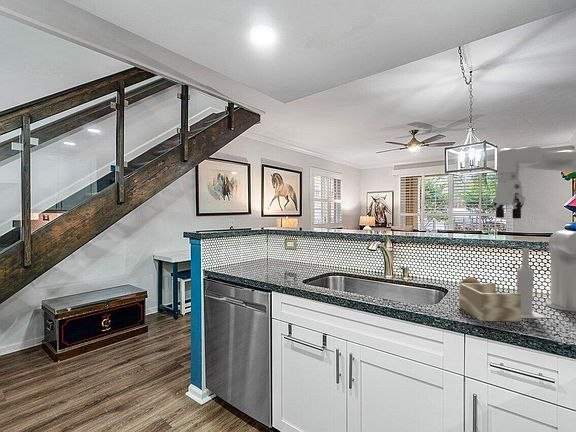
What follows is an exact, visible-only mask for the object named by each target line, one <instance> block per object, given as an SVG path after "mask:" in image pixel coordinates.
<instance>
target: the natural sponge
mask: <svg viewBox="0 0 576 432" xmlns="http://www.w3.org/2000/svg"><path fill="white" fill-rule="evenodd" d="M460 283H481V282H480V280H478V279H476V278H475V277H466V278H464V279H463V280H461V282H460Z"/></svg>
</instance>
